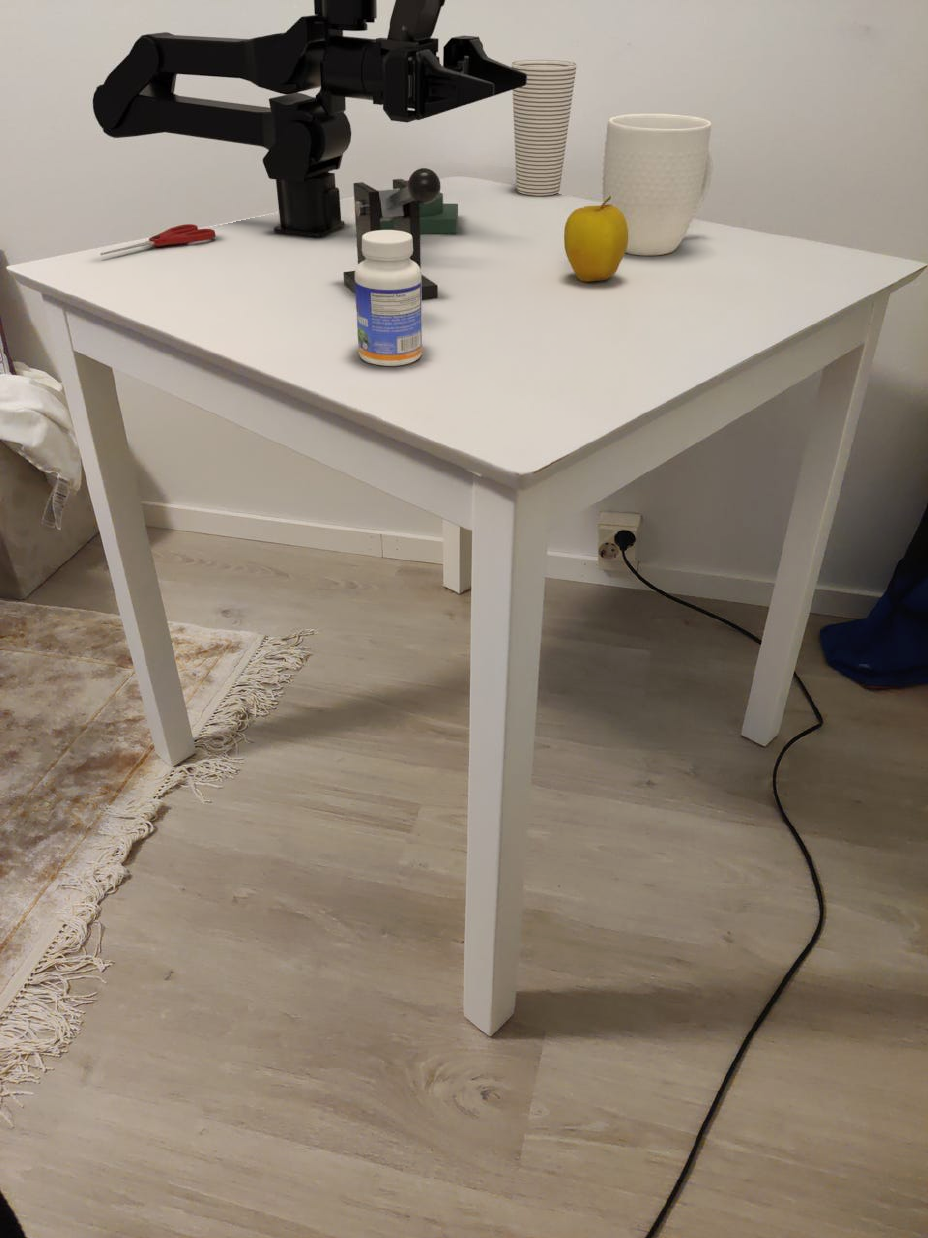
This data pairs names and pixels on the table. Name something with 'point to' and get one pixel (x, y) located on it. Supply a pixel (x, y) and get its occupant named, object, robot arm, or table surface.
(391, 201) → the lever
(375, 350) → the pill bottle
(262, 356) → the table surface
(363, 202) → the bracket
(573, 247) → the apple
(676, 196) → the mug
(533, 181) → the cup
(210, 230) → the scissors
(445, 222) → the button box
